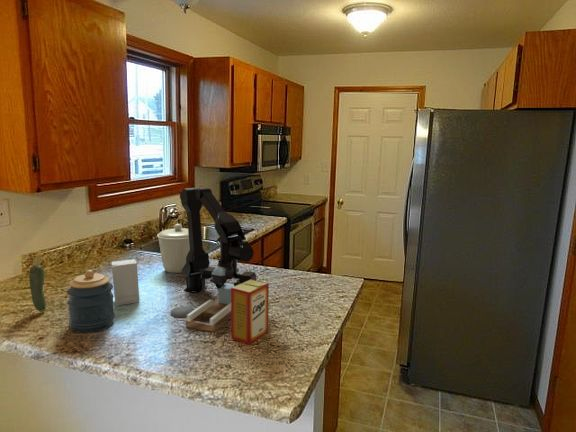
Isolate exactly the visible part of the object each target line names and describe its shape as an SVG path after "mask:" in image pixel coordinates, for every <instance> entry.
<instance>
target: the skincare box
mask: <svg viewBox="0 0 576 432" xmlns="http://www.w3.org/2000/svg"><path fill="white" fill-rule="evenodd" d="M111 274H112V285H113V292H114V293H113V296H114V302H115V303H114V304H115V306H123V305H127V304H128V305H129V304H136V303H139V302H140V301H141V300H140V289H139V287H140V286H139V275H138V274H139V273H138V262H137V261H136V259H135V258H132V259H124V260H117V261H115V260H114V261H111Z"/></svg>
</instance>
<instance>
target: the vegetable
mask: <svg viewBox="0 0 576 432" xmlns="http://www.w3.org/2000/svg"><path fill="white" fill-rule="evenodd" d="M42 257H43V255H42V254H41V253H38V254H36V256H35V257H34V258H33V261H32V262H33V263H32V267H30V269H29V272H28V279H29V281H28V282H29V289H30V294H31V300H32V303H33V306H34V308H35V310H37V311H38V312H40V313H45V312H46V309H47V308H46V307H47V303H46V298H45V293H44V282H45V269H44V267H43V266H42V265H41V258H42Z"/></svg>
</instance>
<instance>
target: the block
mask: <svg viewBox="0 0 576 432" xmlns="http://www.w3.org/2000/svg"><path fill="white" fill-rule="evenodd" d="M232 287H235V286H234V283H233V284H232V283H227V282H226V283H224V285H223V286H222V287H220V288H219V289H217V292H218V295H217V298H218V303H224V304H230V303H231V288H232Z"/></svg>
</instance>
